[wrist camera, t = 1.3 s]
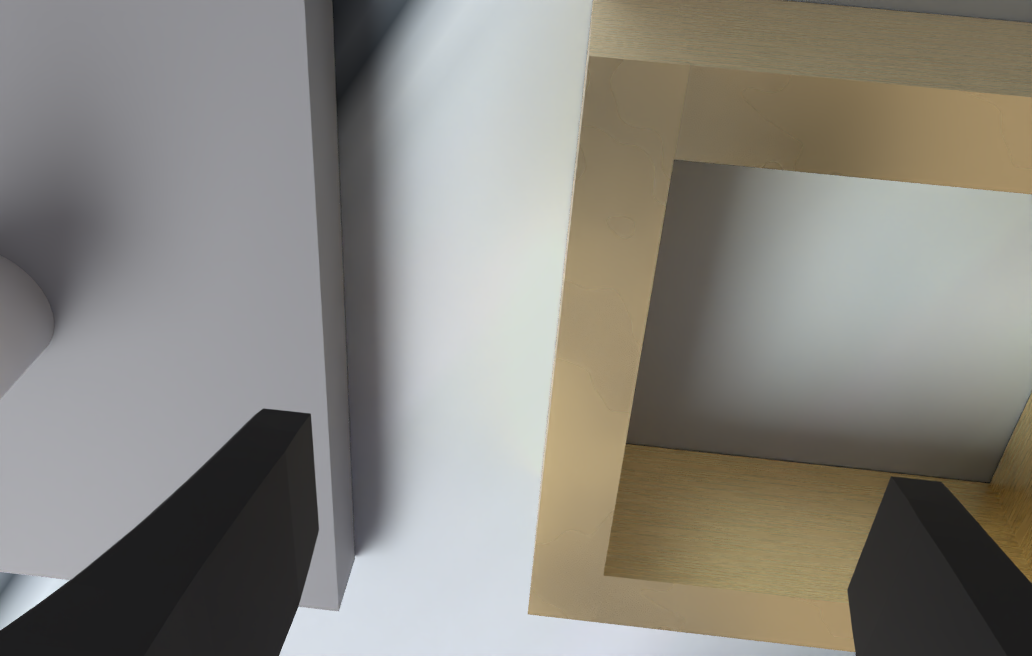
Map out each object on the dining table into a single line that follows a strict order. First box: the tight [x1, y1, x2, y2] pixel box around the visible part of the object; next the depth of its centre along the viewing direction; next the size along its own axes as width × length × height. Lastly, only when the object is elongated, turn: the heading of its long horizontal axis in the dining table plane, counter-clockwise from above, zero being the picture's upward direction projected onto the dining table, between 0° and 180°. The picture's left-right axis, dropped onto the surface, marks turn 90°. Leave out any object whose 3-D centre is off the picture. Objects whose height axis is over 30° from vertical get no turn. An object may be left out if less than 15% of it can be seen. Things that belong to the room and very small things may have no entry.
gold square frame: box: [528, 0, 1032, 652], centre depth 15 cm, size 10×10×4 cm
